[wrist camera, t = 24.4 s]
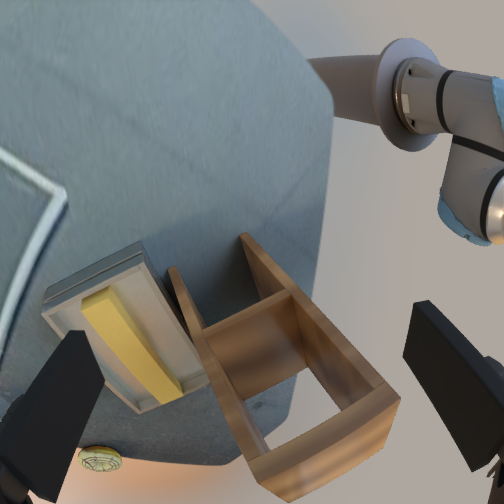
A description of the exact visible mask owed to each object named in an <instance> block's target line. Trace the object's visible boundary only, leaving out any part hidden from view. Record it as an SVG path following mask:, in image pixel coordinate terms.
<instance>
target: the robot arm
mask: <svg viewBox="0 0 504 504" xmlns="http://www.w3.org/2000/svg"><path fill="white" fill-rule="evenodd" d="M392 103H393V108H394V111H395V114H396V116H397V119H398V120H399V122H400V124H401V125H402V126H403V127H404V128H405V129H406V130H407V131H409V132H412V133H415V134H420V135H427V134H437V133H451V134H453V138H452V144H451V148H450V153H449V157H448V162H447V166H446V171H445V175H444V179H443V183H442V187H441V189H440V197H439V202H438V214H439V216H440V218H441V220H442V221H443V222H444V224H445V225H446V226H447V227H448V228H450V229H451V230H452V231H453V232H455V233H456V234H458V235H459V236H460V237H462V238H466V239H467V240H468V241H470V242H472V243H474V244H476V245H479V246H489V245H491V243H494V244H497V245H499V244H502V243H504V80H503V79H500V78H499V77H496V76H494V77H491V76H486V75H480V74H474V73H468V72H461V71H453V70H448V69H446V68H445V67H442V66H440V65H438V64H436V63H434V62H432V61H430V60H427V59H424V58H420V57H410V58H407V59H405V60H403V61H402V62H401V63H400V64H399V66H398V67H397V69H396V71H395V74H394V77H393V82H392ZM403 358H404V360H405V361H406V363H407V364H408V366H409V367H410V369H411V370H412V372H413V374H414V375H415V377H416V378H417V380H418V381H419V383H420V385H421V386H422V388H423V389H424V391H425V392H426V394H427V396H428V397H429V399H430V401H431V402H432V404H433V405H434V407H435V409H436V410H437V412H438V414H439V415H440V417H441V419H442V420H443V422H444V424H445V426H446V427H447V429H448V431H449V432H450V434H451V436H452V438H453V439H454V441H455V443H456V445H457V446H458V448H459V450H460V452H461V453H462V455H463V457H464V459H465V461H466V462H467V464H468V466H469V468H470V470H471V472H474V471H476V470H478V469H480V468H482V467H483V466H485V465H487V464H488V463H490V461H491V460H492V459H493V458H494V456H495V455H496V454H498V456H499V457H500V459H499V460H498V462H497V463H496V464H495V465H494V466H493V467H492V469H491V470H490V471H489V472H488V475H487V477H490V476H491V474H492V473H493V472H494V471H495V475H494V476H493V478H494V479H493V484H492V488H491V492H490V496H489V500H488V504H504V367H503V366H502V365H501V363H499V362H498V361H496V360H495V359H493V358H491V357H490V356H487V357H483V356H482V355H481V354H480V353H479V351H478V350H477V349H476V348H475V347H474V346H473V345H472V344H471V343H470V342H469V341H468V340H467V338H466V337H465V336H464V335H463V334H462V333H461V332H460V331H459V330H458V329H457V328H456V327H455V326H454V325H453V324H452V323H451V322H450V321H449V320H448V319H447V318H446V317H445V316H444V315H443V314H442V312H440V310H439V309H438V308H437V307H436V306H435V305H433V304H432V303H431V302H430V301H429V300H426V301H421V302H415V303H414V304H413V309H412V315H411V320H410V325H409V330H408V335H407V339H406V343H405V348H404V352H403ZM105 381H106V380H105V378H104V376H103V374H102V372H101V369H100V367H99V365H98V362H97V360H96V358H95V355H94V353H93V351H92V348H91V346H90V343H89V341H88V338H87V335H86V333H85V330H69V332H68V333H67V334H66V336H65V337H64V339H63V340H62V341H61V343H60V344H59V345H58V347H57V348H56V349H55V351H54V352H53V354H52V355H51V356H50V358H49V359H48V361H47V362H46V364H45V365H44V366H43V368H42V369H41V371H40V372H39V374H38V375H37V377H36V378H35V380H34V381H33V383H32V384H31V386H30V387H29V389H28V390H27V392H26V393H25V395H23V394H22V395H21V396H19V397H18V398H17V399H16V400H15V401H14V402H13V403H12V404H11V406H10V407H9V409H8V410H7V414H5V415H4V417H3V418H2V422H0V504H33V502H32V500H31V498H30V497H29V495H27V494H28V491H29V489H30V490H31V491H32V492H33V493H34V494H35V495H36V496H38V497H39V498H41V499H44V500H47V501H49V502H52V503H56V501H57V499H58V495H59V493H60V490H61V487H62V484H63V481H64V479H65V476H66V474H67V471H68V468H69V466H70V463H71V461H72V458H73V455H74V453H75V450H76V448H77V445H78V443H79V441H80V438H81V436H82V433H83V431H84V429H85V426H86V424H87V421H88V419H89V417H90V414H91V412H92V410H93V408H94V405H95V403H96V401H97V399H98V396H99V394H100V392H101V390H102V388H103V385H104V383H105Z"/></svg>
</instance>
